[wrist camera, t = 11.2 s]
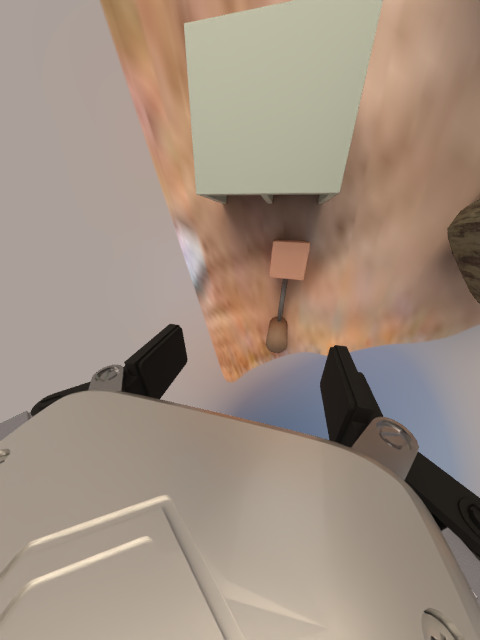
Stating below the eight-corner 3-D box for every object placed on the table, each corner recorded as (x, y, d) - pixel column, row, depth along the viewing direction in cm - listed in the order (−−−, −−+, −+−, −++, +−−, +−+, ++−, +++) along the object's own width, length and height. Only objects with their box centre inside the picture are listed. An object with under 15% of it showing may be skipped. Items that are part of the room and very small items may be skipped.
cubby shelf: (347, 79, 21) (387, -19, 12) (323, 203, 26) (339, 192, 18) (220, 94, 24) (183, 23, 15) (222, 203, 29) (196, 194, 21)
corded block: (307, 241, 29) (312, 244, 23) (289, 334, 37) (290, 355, 31) (275, 239, 30) (271, 242, 24) (264, 330, 38) (260, 350, 32)
